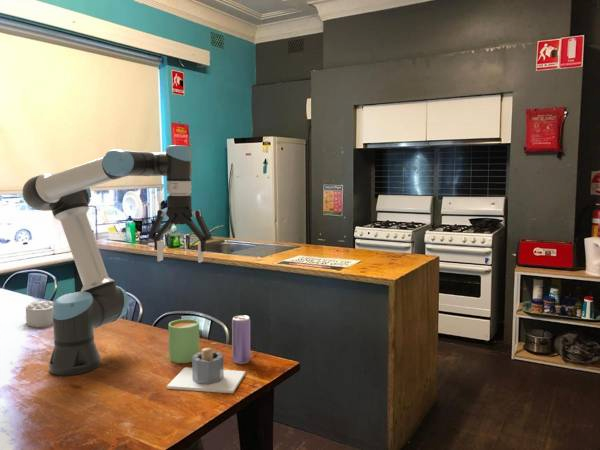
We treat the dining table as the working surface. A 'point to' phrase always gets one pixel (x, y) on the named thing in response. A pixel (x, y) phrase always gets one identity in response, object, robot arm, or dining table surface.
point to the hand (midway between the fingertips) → (180, 261)
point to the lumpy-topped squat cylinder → (39, 314)
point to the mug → (183, 340)
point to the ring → (207, 368)
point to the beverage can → (241, 339)
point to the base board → (224, 386)
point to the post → (207, 353)
